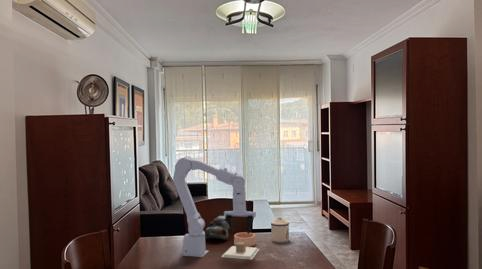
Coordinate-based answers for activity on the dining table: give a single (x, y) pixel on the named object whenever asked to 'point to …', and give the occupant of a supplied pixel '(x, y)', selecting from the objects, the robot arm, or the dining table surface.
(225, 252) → the mat
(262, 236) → the dining table surface
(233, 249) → the cover plate
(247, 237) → the bowl
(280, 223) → the teacup with lid
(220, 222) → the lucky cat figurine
